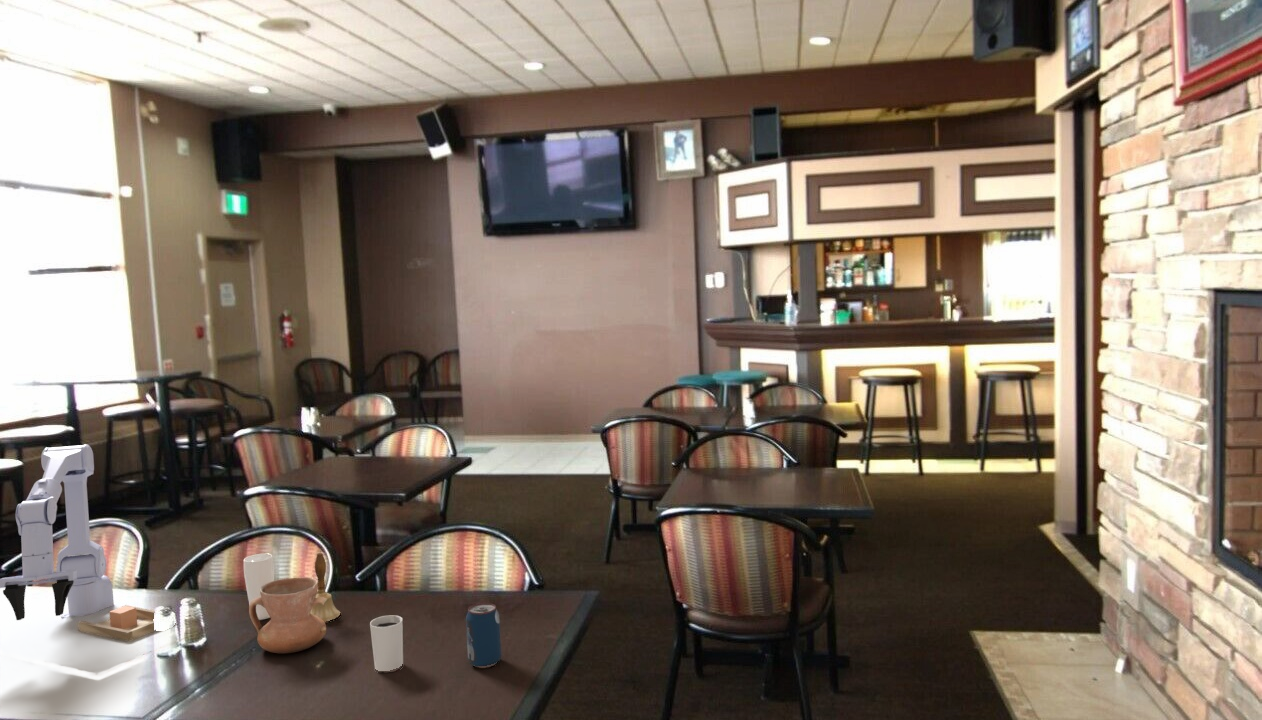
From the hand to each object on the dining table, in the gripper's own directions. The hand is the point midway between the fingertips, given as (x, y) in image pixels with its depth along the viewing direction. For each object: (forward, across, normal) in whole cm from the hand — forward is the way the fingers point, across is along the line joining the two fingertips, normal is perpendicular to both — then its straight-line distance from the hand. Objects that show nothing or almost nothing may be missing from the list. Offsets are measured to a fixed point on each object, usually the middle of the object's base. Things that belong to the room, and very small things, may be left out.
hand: (40, 617), depth 193 cm
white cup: (+15, +75, -23) cm, 79 cm away
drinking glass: (+9, +42, +17) cm, 46 cm away
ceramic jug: (+12, +52, -4) cm, 54 cm away
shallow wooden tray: (+8, +12, +16) cm, 22 cm away
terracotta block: (+7, +11, +17) cm, 21 cm away
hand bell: (+10, +57, +12) cm, 59 cm away
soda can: (+16, +94, -26) cm, 99 cm away
